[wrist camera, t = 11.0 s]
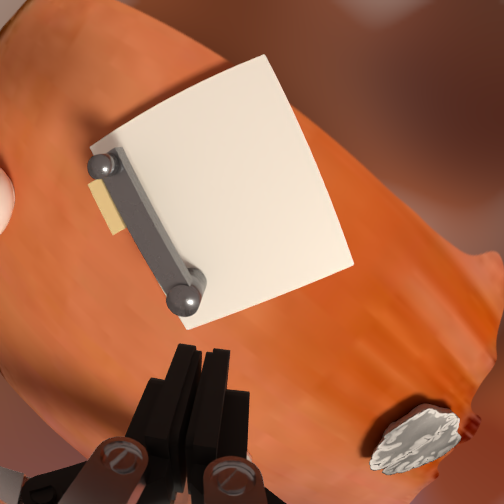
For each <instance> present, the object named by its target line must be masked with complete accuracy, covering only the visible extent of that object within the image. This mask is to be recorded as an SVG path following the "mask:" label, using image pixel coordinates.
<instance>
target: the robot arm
mask: <svg viewBox="0 0 504 504" xmlns="http://www.w3.org/2000/svg"><path fill="white" fill-rule="evenodd" d="M229 359H230V350H223V349H215V348H214V349H213V353H212V352H206V356H205V360H204V364H203V368H202V372H201V365H202V351H198V350H196V346H193V345H187V344H179V345H178V347H177V349H176V352H175V355H174V357H173V360H172V362H171V365H170V368H169V370H168V373H167V375H166V378H165V380H162V379H157V378H150V380H149V381H148V384H147V386H146V388H145V390H144V393H143V395H142V397H141V400H140V402H139V404H138V407H137V409H136V411H135V414H134V416H133V418H132V421H131V423H130V426H129V428H128V430H127V433H126V435H125V437H113V438H109V439H107V440H105V441H103V442H102V443H101V444H100V445H99V446H98V447H97V448H96V449H95V451H94V452H93V454H92V455H91V456H90V458H89V459H88V461H85V462H82V463H79V464H76V465H73V466H70V467H66V468H63V469H59V470H56V471H52V472H49V473H45V474H41V475H37V476H35V477H33V478H30V477H26V475H25V474H24V473H20V472H16V471H13V470H9V469H7V468H3V467H0V504H170V502H171V500H175V501H174V504H286V503H285V502H283V501H282V500H281V499H279V498H278V497H277V496H276V495H274V494H273V493H272V492H271V491H269V490H268V489H267V488H265V487H264V482H263V477H262V474H261V472H260V470H259V469H258V467H257V466H256V465H255V464H254V463H252V458H251V455H250V454H249V453H248V451H247V442H248V420H249V397H250V393H249V392H247V391H237V390H228V389H227V380H228V370H229Z"/></svg>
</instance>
